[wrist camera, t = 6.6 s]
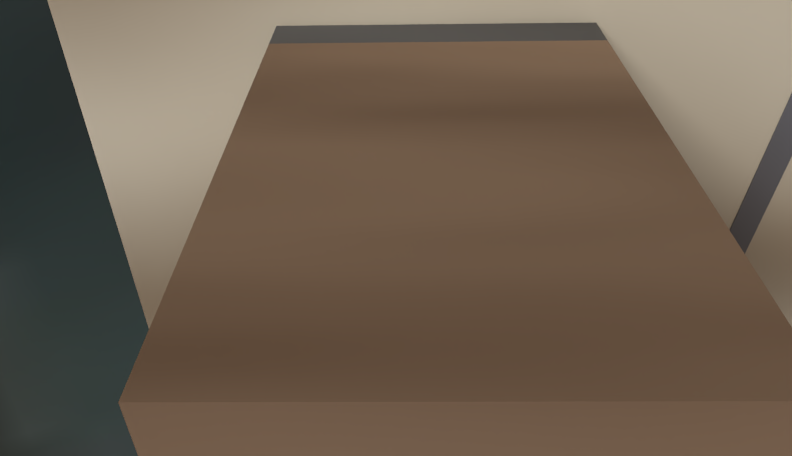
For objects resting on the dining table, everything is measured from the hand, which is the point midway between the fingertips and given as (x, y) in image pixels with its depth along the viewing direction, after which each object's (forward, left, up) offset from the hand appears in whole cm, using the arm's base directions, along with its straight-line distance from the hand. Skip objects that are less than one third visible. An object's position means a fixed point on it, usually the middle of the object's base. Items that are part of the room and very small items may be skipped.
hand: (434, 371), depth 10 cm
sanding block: (0, 0, -2) cm, 2 cm away
